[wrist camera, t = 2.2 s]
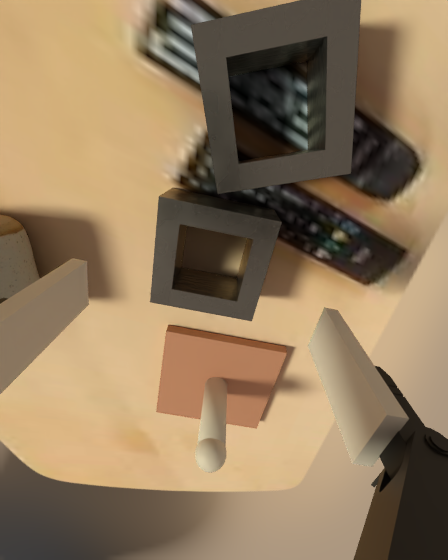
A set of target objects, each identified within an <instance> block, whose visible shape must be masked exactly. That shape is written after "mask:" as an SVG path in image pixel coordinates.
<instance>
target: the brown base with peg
mask: <svg viewBox="0 0 448 560" xmlns="http://www.w3.org/2000/svg"><path fill="white" fill-rule="evenodd" d="M286 355H287V351H286V347H285V346H281V345H275V344H270V343H264V342H259V341H253V340H248V339H242V338H237V337H231V336H226V335H221V334H215V333H210V332H204V331H199V330H193V329H188V328H182V327H177V326H172V325H168V328H167V330H166V337H165V345H164V353H163V361H162V370H161V378H160V386H159V394H158V402H157V411H156V412H159V413H165V414H171V415H178V416H184V417H190V418H196V419H201V420H200V428H199V436H198V444H197V447H196V450H195V458H196V462H197V464H198V466H199V467H200V468H201V469H202V470H203V471H205V472H215V471H217V470H219V469H220V468H221V467H222V466H223V464H224V462H225V459H226V447H225V443H226V424H232V425H238V426H244V427H250V428H256V429H257V426H258V424H259V421H260V419H261V416H262V414H263V411H264V409H265V406H266V404H267V402H268V399H269V397H270V394H271V392H272V389H273V387H274V384H275V382H276V379H277V377H278V375H279V372H280V370H281V367H282V365H283V362H284V360H285V357H286Z"/></svg>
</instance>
